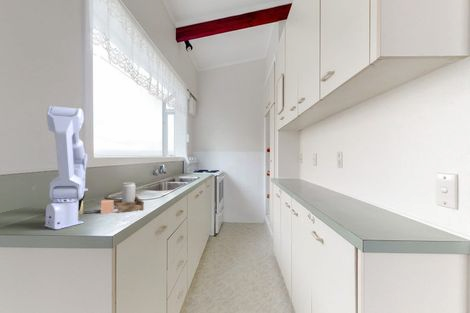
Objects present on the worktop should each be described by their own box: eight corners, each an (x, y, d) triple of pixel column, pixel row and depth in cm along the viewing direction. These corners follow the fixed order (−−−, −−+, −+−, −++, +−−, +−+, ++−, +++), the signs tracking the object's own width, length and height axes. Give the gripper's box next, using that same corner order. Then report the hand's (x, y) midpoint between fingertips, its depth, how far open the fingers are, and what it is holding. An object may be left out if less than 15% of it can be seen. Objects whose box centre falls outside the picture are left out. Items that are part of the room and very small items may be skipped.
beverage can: (137, 204, 123) (138, 182, 123) (130, 207, 117) (131, 183, 117) (126, 203, 124) (126, 181, 124) (119, 206, 118) (119, 183, 118)
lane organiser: (118, 212, 106) (118, 204, 106) (113, 204, 121) (113, 197, 121) (143, 210, 112) (143, 202, 112) (135, 202, 127) (135, 195, 127)
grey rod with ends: (73, 215, 98) (74, 202, 98) (75, 213, 102) (75, 199, 102) (113, 212, 106) (113, 199, 106) (112, 210, 110) (113, 197, 110)
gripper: (89, 180, 97) (88, 212, 97) (87, 177, 109) (86, 205, 109) (68, 181, 93) (67, 214, 93) (69, 177, 105) (68, 207, 105)
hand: (76, 210), depth 101 cm, fingers open, 4 cm apart
